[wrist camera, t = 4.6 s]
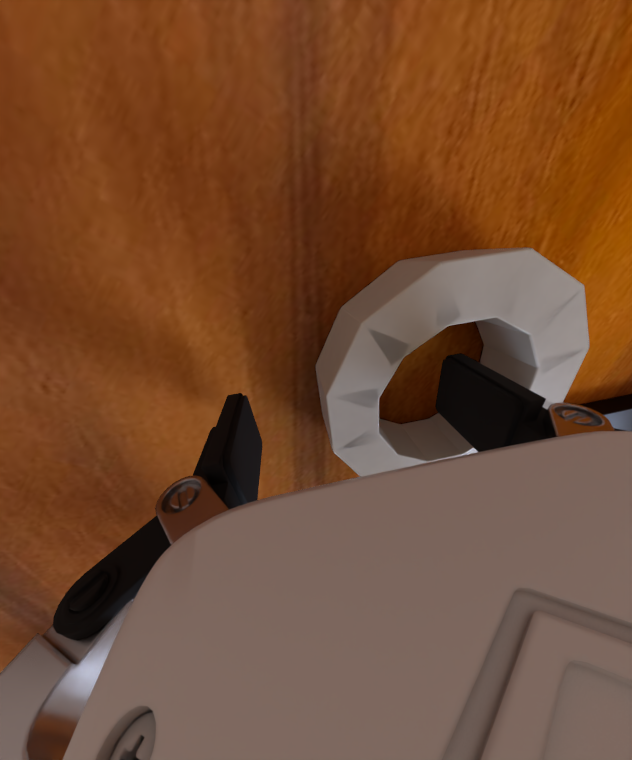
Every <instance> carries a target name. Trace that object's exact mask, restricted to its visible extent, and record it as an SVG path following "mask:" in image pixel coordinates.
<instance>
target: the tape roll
mask: <svg viewBox="0 0 632 760" xmlns="http://www.w3.org/2000/svg"><path fill="white" fill-rule="evenodd" d="M474 321H475V322H476V325H477V327H478V330H479V333H480V335H481V338H482V341H483V343H484V347H483V351H482V355H481V359H480V363H481V364H482V365H484V366H486V367H488V368H490V369H492V370H494V371H495V372H497V373H499V374H501V375H503V376H505V377H507V378H508V379H510V380H512V381H514V382H516V383H518V384H520V385H521V386H523V387H525V388H527V389H529V390H531V391H533V392H534V393H536V394H538V395H540V396H542V397H544V398H546V400H545V403H544V405H543V407H544V408H545V409H548V407H549V406H550V405H551V404H554V403H563V401H564V399H565V397H566V395H567V393H568V391H569V388H570V386H571V384H572V382H573V380H574V378H575V376H576V374H577V372H578V370H579V368H580V366H581V364H582V362H583V359H584V357H585V355H586V353H587V351H588V349H589V335H588V323H587V312H586V300H585V289H584V285H583V284H582V283H580V282H579V281H577V280H576V279H575V278H573V277H572V276H570V275H569V274H567V273H566V272H565V271H563V270H562V269H560V268H559V267H558V266H556V265H555V264H553V263H552V262H550V261H549V260H548V259H546V258H545V257H543V256H542V255H540V254H539V253H538V252H536V251H535V250H533V249H532V248H504V249H480V250H463V251H457V252H450V253H444V254H437V255H431V256H424V257H418V258H411V259H405V260H400V261H398V262H396V263H395V264H394V265H393V266H391V267H390V268H389V269H388V270H386V271H385V272H384V273H383V274H382V275H380V276H379V277H378V278H377V279H375V280H374V281H373V282H372V283H370V284H369V285H368V286H367V287H365V288H364V289H363V290H362V291H360V292H359V293H358V294H357V295H355V296H354V297H353V298H352V299H350V300H349V301H348V302H347V303H345V304H344V305H343V306H342V307H341V308H340V310H339V313H338V315H337V317H336V319H335V322H334V324H333V326H332V329H331V331H330V333H329V335H328V338H327V340H326V342H325V345H324V347H323V349H322V351H321V354H320V356H319V358H318V361H317V363H316V374H317V381H318V388H319V395H320V401H321V408H322V414H323V418H324V422H325V425H326V429H327V432H328V436H329V440H330V443H331V447H332V450H333V452H334V453H335V454H336V455H337V456H338V457H339V458H341V459H342V460H343V461H344V462H345V463H346V464H347V465H348V466H349V467H350V468H351V469H353V470H354V471H355V472H356V473H357V474H358V475H359V476H360V477H362V476H366V475H371V474H376V473H381V472H385V471H390V470H395V469H400V468H404V467H409V466H414V465H419V464H424V463H428V462H433V461H438V460H443V459H448V458H453V457H457V456H462V455H467V454H472V453H477V452H478V451H477V450H476V449H475V448H474V447H473V446H472V445H470V444H469V443H468V442H467V441H466V440H465V439H464V438H463V437H462V436H461V435H460V434H459V433H458V432H457V431H456V430H455V429H454V428H453V427H452V426H451V425H450V424H449V423H448V422H447V421H446V420H445V419H444V418H443V417H442V416H441V415H440V414H439V413H437V414H436V415H434V416H432V417H431V418H429V419H425V420H420V421H415V422H410V423H405V424H397V423H394V422H390V421H386V420H383V419H379V398H380V396H381V394H382V393H383V391H384V390H385V388H386V386H387V385H388V383H389V381H390V380H391V378H392V376H393V375H394V373H395V371H396V370H397V368H398V366H399V365H400V363H401V361H402V360H403V358H404V357H405V356H407V355H408V354H409V353H411V352H412V351H414V350H415V349H417V348H418V347H419V346H421V345H422V344H424V343H425V342H426V341H428V340H429V339H431V338H432V337H433V336H435V335H436V334H438V333H439V332H441V331H442V330H443V329H445V328H446V327H448V326H451V325H457V324H463V323H468V322H474Z"/></svg>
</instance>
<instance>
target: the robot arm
mask: <svg viewBox="0 0 632 760" xmlns="http://www.w3.org/2000/svg"><path fill="white" fill-rule="evenodd" d="M545 400H546V398H544V397H542V396H540V395H538V394H536V393H534V392H533V391H531V390H529V389H527V388H525V387H523V386H521V385H520V384H518V383H516V382H514V381H512V380H510V379H508V378H507V377H505V376H503V375H501V374H499V373H497V372H495V371H494V370H492V369H490V368H488V367H486V366H484V365H482V364H481V363H479V362H477V361H475V360H473V359H471V358H469V357H468V356H466V355H464V354H461V353H460V354H454V355H449V356H447V357H446V359H444V360H443V363H442V369H441V375H440V382H439V388H438V394H437V400H436V409H437V411H438V413H439V414H440V415H441V416H442V417H443V418H444V419H445V420H446V421H447V422H448V423H449V424H450V425H451V426H452V427H453V428H454V429H455V430H456V431H457V432H458V433H459V434H460V435H461V436H462V437H463V438H464V439H465V440H466V441H467V442H468V443H469V444H470V445H472V446H473V447H474V448H475V449H476V450H477V451H478V452H477V453H472V454H467V455H462V456H457V457H453V458H448V459H443V460H438V461H433V462H428V463H424V464H419V465H414V466H409V467H404V468H400V469H395V470H390V471H385V472H381V473H376V474H371V475H366V476H362V477H357V478H352V479H348V480H343V481H338V482H334V483H329V484H324V485H320V486H315V487H311V488H306V489H302V490H298V491H293V492H289V493H285V494H280V495H276V496H272V497H268V498H264V499H260V500H257V497H258V486H259V476H260V465H261V454H262V440H261V437H260V434H259V431H258V428H257V425H256V422H255V419H254V416H253V413H252V410H251V407H250V404H249V401H248V398H247V396H246V395H245V396H243V395H242V394H241V393H239V394H233V395H228V396H227V399H226V401H225V404H224V407H223V409H222V412H221V415H220V417H219V420H218V423H217V425H216V427H213V428H212V429H211V431H210V433H209V436H208V438H207V441H206V443H205V446H204V448H203V451H202V453H201V456H200V458H199V461H198V463H197V466H196V468H195V471H194V473H193V476H187V477H185V478H182V479H180V480H178V481H176V482H175V483H173V484H172V485H171V486H169V487H168V488H167V489H166V490H165V491H164V492H163V493H162V494H161V496H160V498H159V499H158V501H157V504H156V508H155V510H156V515H157V516H156V517H154V518H153V519H152V520H151V521H149V522H148V523H147V524H146V525H145V526H143V527H142V528H141V529H140V530H138V531H137V532H136V533H135V534H133V535H132V536H131V537H130V538H128V539H127V540H126V541H125V542H123V543H122V544H121V545H120V546H118V547H117V548H116V549H115V550H113V551H112V552H111V553H110V554H109V555H107V556H106V557H105V558H104V559H102V560H101V561H100V562H99V563H97V564H96V565H95V566H94V567H92V568H91V569H90V570H89V571H87V572H86V573H85V574H84V575H83V576H82V577H81V578H80V579H79V580H77V581H76V582H75V583H74V585H73V586H72V587H71V588H70V589H69V591H68V592H67V593H66V594H65V596H64V597H63V599H62V601H61V602H60V604H59V605H58V608H57V610H56V613H55V615H54V621H53V625H52V626H51V627H50V628H49V629H48V630H47V631H46V632H45V634H44V635H41V634H38V633H37V634H36V635H35V636H34V638H33V639H32V640H31V641H30V642H29V643H28V644H27V645H26V646H25V647H24V648H23V649H22V650H21V651H20V652H19V654H18V655H17V656H16V657H15V658H14V659H13V660H12V661H11V662H10V663H9V664H8V665H7V666H6V667H5V668H4V669H3V671H2V672H1V673H0V760H632V431H625V430H620V429H616V428H613V426H612V424H611V423H610V421H609V420H608V419H607V418H606V417H605V416H604V415H602V414H601V413H599V412H597V411H595V410H593V409H591V408H588V407H585V406H582V405H577V404H572V403H554V404H551V405H550V406H549V407H548V409H545V408H544V407H543V405H544V403H545Z"/></svg>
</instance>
